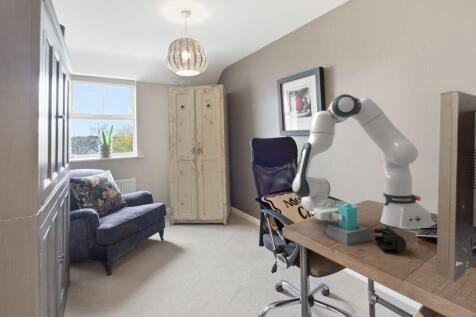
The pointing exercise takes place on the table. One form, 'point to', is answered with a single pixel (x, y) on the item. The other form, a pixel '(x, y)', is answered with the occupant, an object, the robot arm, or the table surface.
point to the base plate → (348, 234)
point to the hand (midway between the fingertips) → (349, 216)
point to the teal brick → (348, 217)
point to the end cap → (389, 241)
